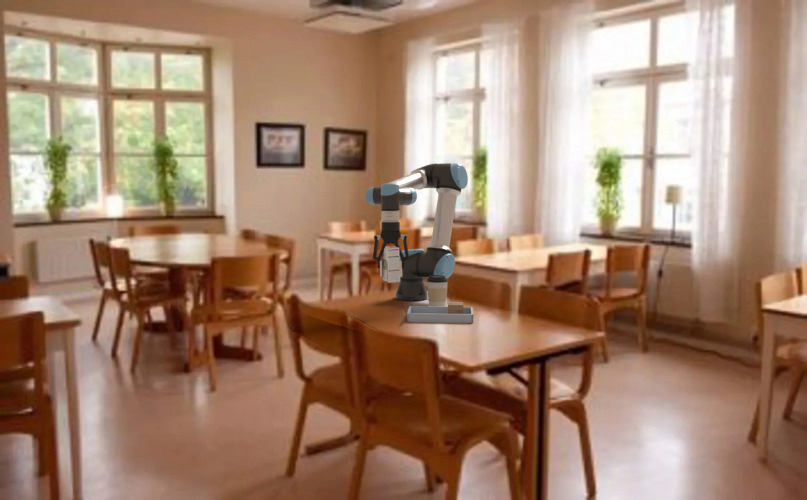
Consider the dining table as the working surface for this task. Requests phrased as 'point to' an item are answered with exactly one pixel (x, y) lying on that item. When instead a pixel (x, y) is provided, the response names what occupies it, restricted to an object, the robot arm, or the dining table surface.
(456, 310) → the walnut block
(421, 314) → the tray
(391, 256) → the syrup box
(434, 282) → the coffee cup
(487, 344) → the dining table surface
